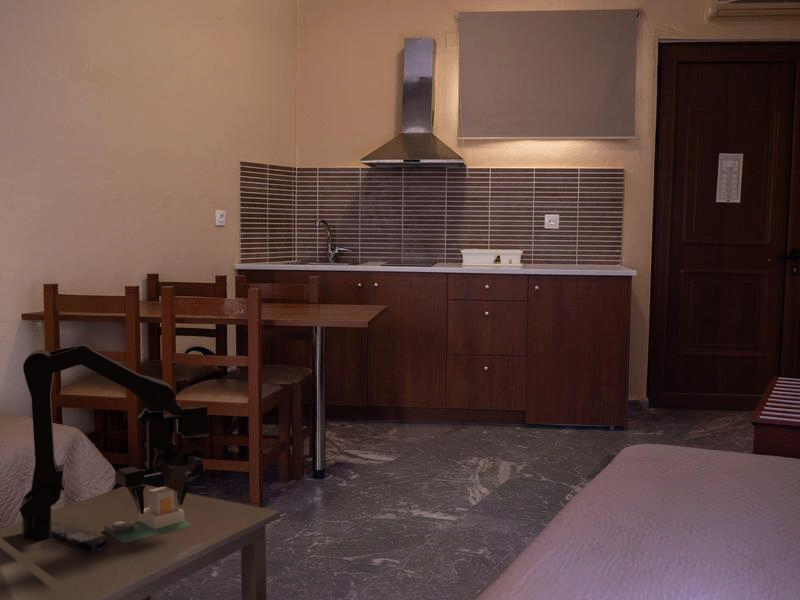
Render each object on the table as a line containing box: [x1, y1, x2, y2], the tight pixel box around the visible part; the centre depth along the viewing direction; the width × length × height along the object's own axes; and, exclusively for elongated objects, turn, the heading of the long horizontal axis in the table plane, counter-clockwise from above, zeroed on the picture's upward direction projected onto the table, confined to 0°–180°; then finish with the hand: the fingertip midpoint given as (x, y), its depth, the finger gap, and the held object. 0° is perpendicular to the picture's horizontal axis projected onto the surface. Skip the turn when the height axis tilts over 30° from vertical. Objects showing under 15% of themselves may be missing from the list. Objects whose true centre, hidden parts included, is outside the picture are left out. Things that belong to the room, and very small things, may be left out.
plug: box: [148, 485, 175, 516], centre depth 177 cm, size 4×4×7 cm
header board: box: [102, 505, 194, 544], centre depth 173 cm, size 10×16×4 cm, turn 134°
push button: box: [103, 520, 134, 537], centre depth 171 cm, size 5×5×2 cm
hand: (161, 509), depth 177 cm, fingers open, 9 cm apart
